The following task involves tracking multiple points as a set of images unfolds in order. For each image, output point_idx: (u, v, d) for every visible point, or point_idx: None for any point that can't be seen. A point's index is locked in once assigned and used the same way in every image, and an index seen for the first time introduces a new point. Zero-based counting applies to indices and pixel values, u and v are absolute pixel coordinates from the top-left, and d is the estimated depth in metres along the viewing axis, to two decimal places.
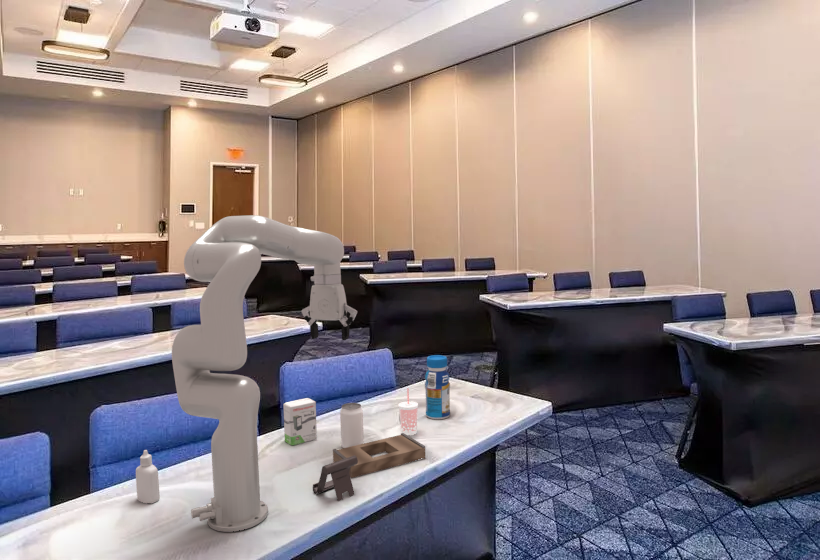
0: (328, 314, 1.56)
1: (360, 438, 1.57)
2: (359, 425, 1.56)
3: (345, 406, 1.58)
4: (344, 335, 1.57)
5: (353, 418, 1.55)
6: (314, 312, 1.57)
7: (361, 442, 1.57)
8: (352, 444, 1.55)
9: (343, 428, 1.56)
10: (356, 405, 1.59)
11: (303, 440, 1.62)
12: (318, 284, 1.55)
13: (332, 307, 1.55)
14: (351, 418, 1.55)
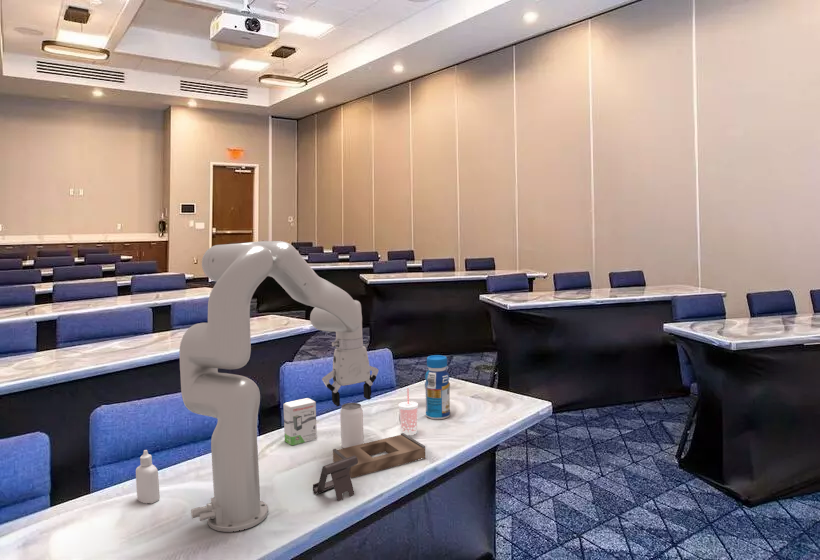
0: (359, 377, 1.56)
1: (360, 438, 1.57)
2: (359, 425, 1.56)
3: (345, 406, 1.58)
4: None
5: (353, 418, 1.55)
6: (344, 378, 1.53)
7: (361, 442, 1.57)
8: (352, 444, 1.55)
9: (343, 428, 1.56)
10: (356, 405, 1.59)
11: (303, 440, 1.62)
12: (350, 349, 1.53)
13: (362, 369, 1.56)
14: (351, 418, 1.55)
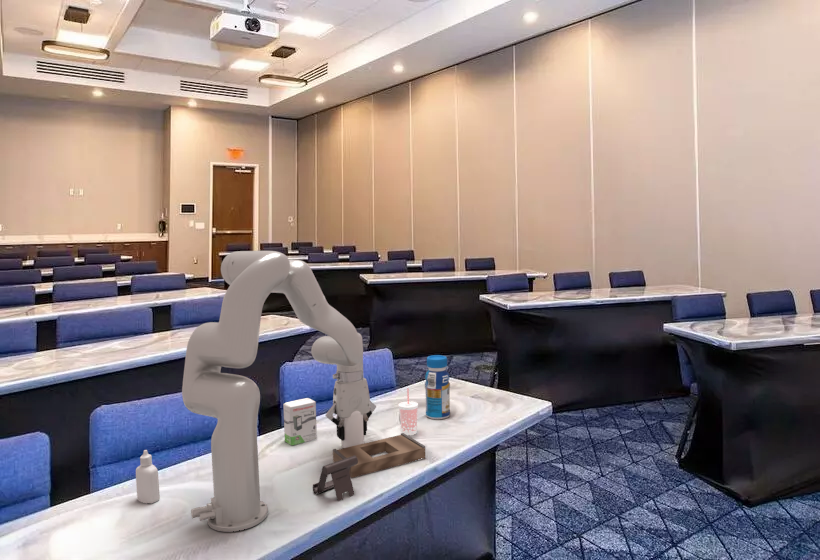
0: (359, 409, 1.56)
1: (360, 438, 1.57)
2: (359, 425, 1.56)
3: None
4: None
5: (353, 418, 1.55)
6: (344, 410, 1.54)
7: (361, 442, 1.57)
8: (352, 444, 1.55)
9: None
10: None
11: (303, 440, 1.62)
12: (351, 381, 1.53)
13: (363, 401, 1.57)
14: (351, 418, 1.55)
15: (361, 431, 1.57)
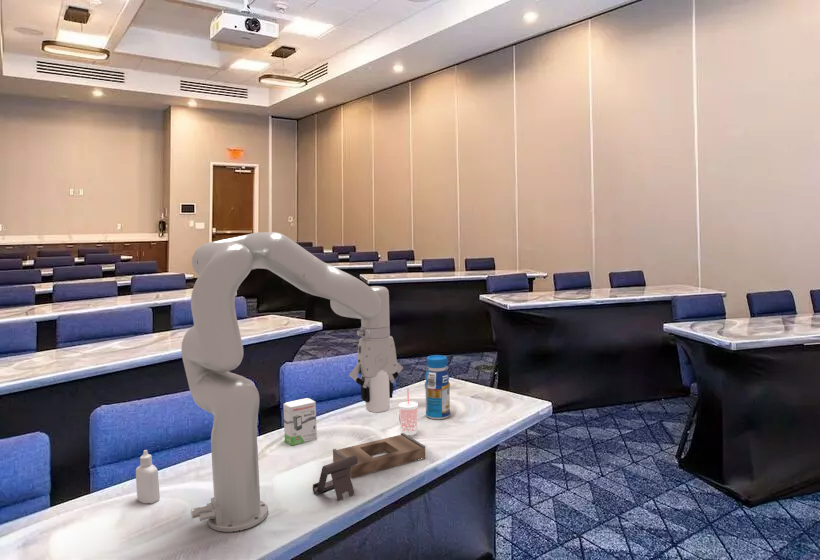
0: (385, 369, 1.45)
1: (386, 400, 1.45)
2: (385, 386, 1.45)
3: None
4: None
5: (379, 378, 1.44)
6: (370, 369, 1.42)
7: (387, 404, 1.46)
8: (378, 406, 1.44)
9: None
10: None
11: (303, 440, 1.62)
12: (377, 338, 1.42)
13: (389, 361, 1.45)
14: (376, 378, 1.43)
15: (387, 393, 1.46)
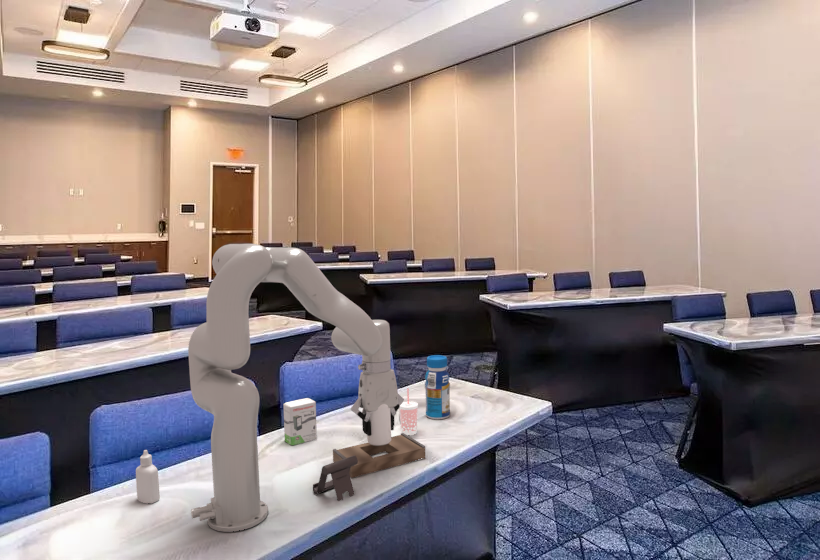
0: (386, 402, 1.45)
1: (388, 433, 1.46)
2: (386, 419, 1.46)
3: None
4: None
5: (381, 412, 1.44)
6: (371, 403, 1.43)
7: (389, 437, 1.47)
8: (379, 439, 1.45)
9: None
10: None
11: (303, 440, 1.62)
12: (378, 372, 1.43)
13: (390, 394, 1.46)
14: (378, 411, 1.44)
15: (389, 426, 1.46)
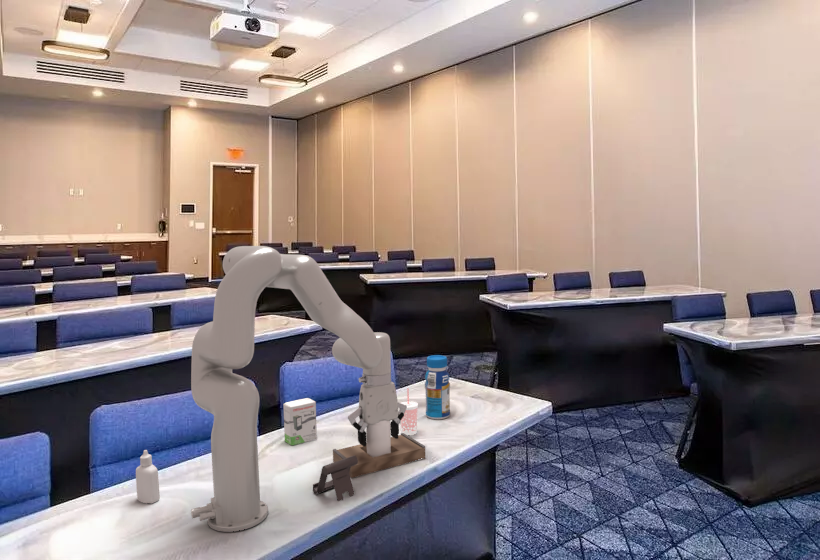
0: (386, 415, 1.46)
1: (388, 452, 1.46)
2: (386, 438, 1.46)
3: None
4: None
5: (381, 430, 1.45)
6: (371, 416, 1.43)
7: None
8: None
9: (369, 441, 1.46)
10: None
11: (303, 440, 1.62)
12: (379, 385, 1.43)
13: (390, 407, 1.46)
14: (378, 430, 1.44)
15: (388, 444, 1.47)
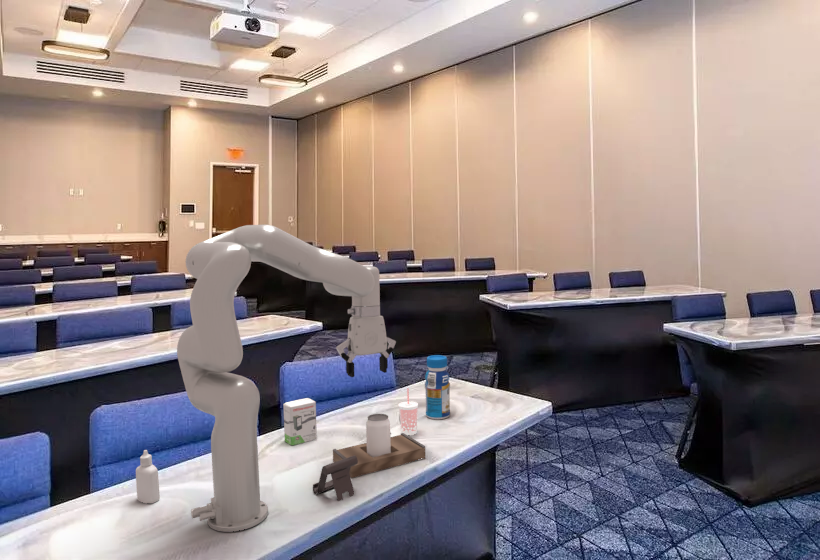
0: (375, 347, 1.47)
1: (388, 452, 1.46)
2: (386, 438, 1.46)
3: (371, 417, 1.48)
4: None
5: (381, 430, 1.45)
6: (359, 347, 1.45)
7: None
8: None
9: (369, 441, 1.46)
10: (383, 416, 1.49)
11: (303, 440, 1.62)
12: (367, 316, 1.45)
13: (379, 339, 1.48)
14: (378, 430, 1.45)
15: (388, 444, 1.47)
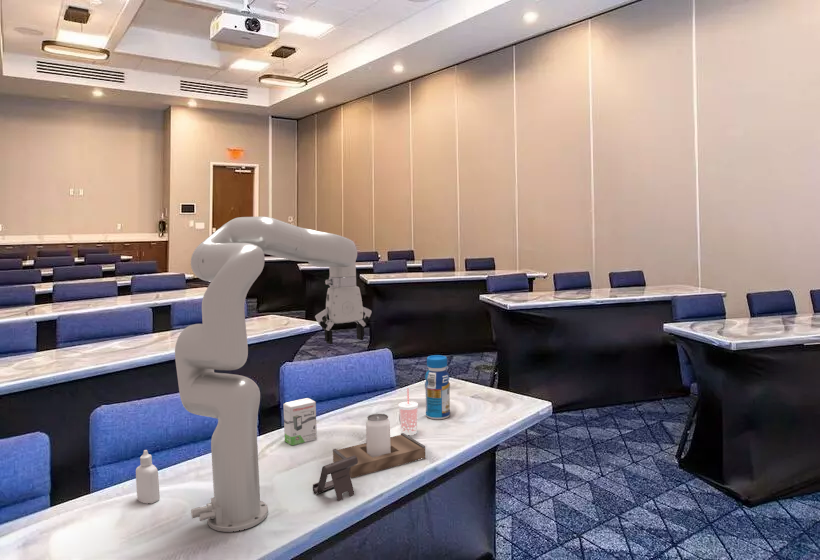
0: (351, 316, 1.56)
1: (387, 452, 1.46)
2: (386, 438, 1.46)
3: (371, 417, 1.48)
4: None
5: (380, 430, 1.45)
6: (337, 315, 1.54)
7: None
8: None
9: (369, 441, 1.46)
10: (383, 416, 1.49)
11: (303, 440, 1.62)
12: (344, 286, 1.54)
13: (355, 308, 1.57)
14: (377, 430, 1.45)
15: (388, 444, 1.47)
